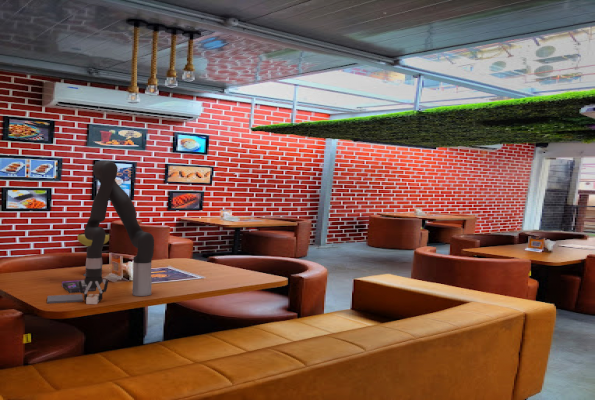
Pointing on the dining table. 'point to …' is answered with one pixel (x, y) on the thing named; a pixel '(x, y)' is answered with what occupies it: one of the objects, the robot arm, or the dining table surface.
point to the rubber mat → (65, 298)
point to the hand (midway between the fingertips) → (93, 300)
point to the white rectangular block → (92, 299)
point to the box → (75, 286)
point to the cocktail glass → (87, 242)
